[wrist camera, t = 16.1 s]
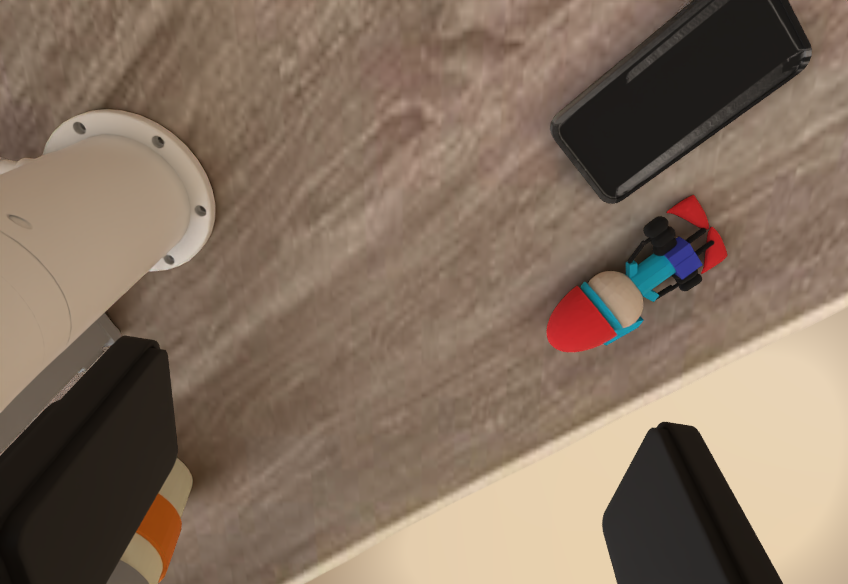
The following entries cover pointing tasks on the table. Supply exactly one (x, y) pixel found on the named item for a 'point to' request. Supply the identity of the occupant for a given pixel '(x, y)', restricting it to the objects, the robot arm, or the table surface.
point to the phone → (679, 90)
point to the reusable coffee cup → (156, 533)
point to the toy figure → (634, 284)
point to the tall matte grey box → (56, 378)
